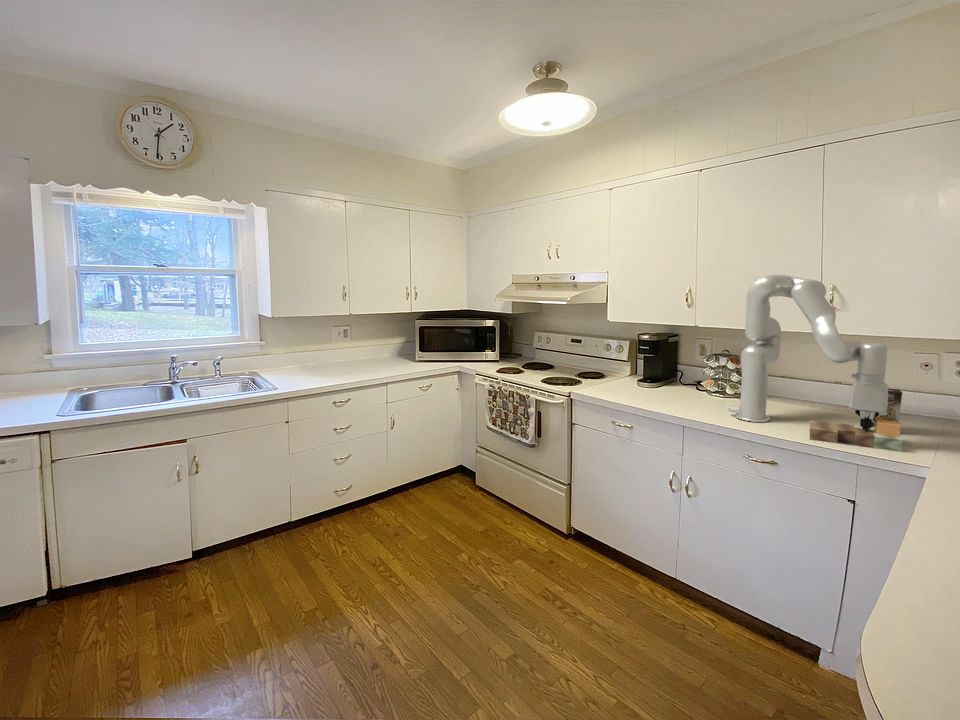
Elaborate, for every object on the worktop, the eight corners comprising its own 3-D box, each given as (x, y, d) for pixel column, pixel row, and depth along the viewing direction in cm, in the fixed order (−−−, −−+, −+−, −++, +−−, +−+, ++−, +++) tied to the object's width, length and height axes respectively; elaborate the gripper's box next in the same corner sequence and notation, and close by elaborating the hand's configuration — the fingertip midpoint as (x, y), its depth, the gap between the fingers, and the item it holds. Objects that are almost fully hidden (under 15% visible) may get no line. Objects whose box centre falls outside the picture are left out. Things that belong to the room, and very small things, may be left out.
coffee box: (866, 431, 177) (870, 389, 175) (864, 426, 182) (868, 386, 180) (897, 434, 172) (902, 392, 170) (894, 430, 177) (899, 388, 175)
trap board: (809, 439, 170) (810, 428, 169) (809, 430, 180) (810, 420, 180) (901, 451, 155) (902, 440, 155) (895, 440, 166) (896, 429, 165)
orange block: (876, 434, 162) (877, 422, 161) (875, 430, 166) (876, 419, 165) (899, 436, 158) (900, 425, 158) (897, 432, 162) (898, 421, 161)
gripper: (843, 378, 164) (839, 428, 167) (900, 382, 155) (894, 435, 158) (842, 374, 170) (838, 423, 173) (897, 378, 161) (891, 429, 164)
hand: (865, 429), depth 165 cm, fingers closed
